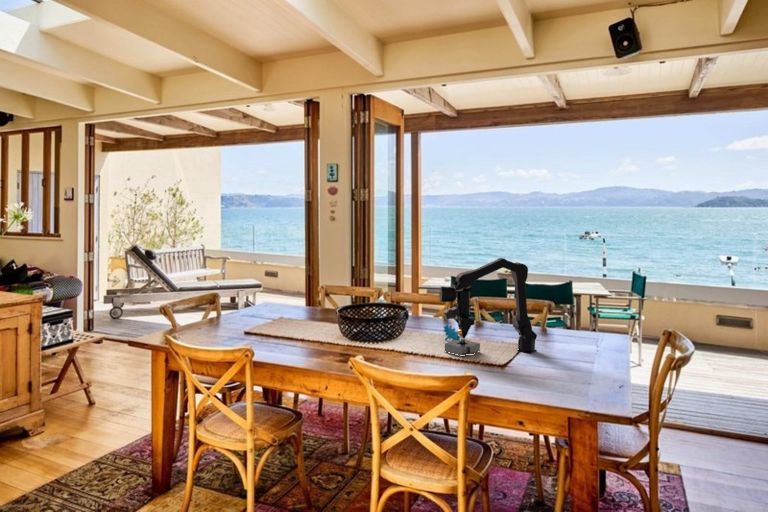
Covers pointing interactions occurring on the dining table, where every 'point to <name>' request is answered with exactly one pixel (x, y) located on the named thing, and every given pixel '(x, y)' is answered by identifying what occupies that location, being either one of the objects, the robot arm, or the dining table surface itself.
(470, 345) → the block
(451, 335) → the blue lobed piece
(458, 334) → the pin
